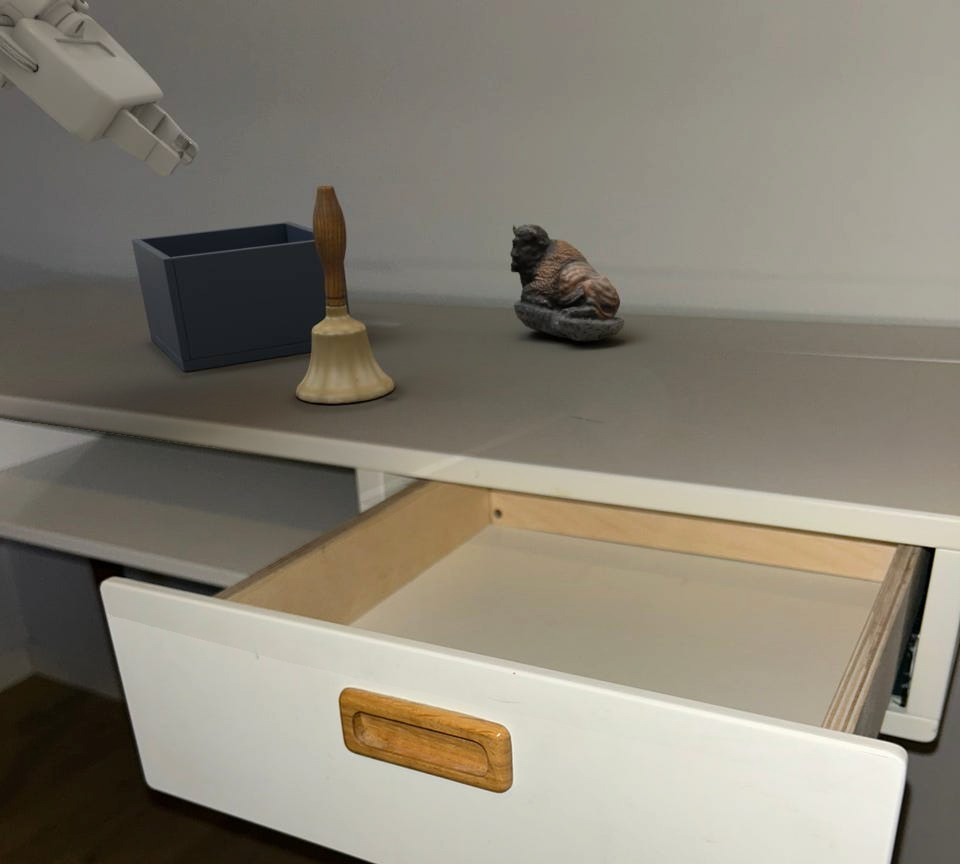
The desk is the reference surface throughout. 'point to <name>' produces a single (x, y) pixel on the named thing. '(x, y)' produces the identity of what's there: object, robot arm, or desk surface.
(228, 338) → the bin
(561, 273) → the bison figurine
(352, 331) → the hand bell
